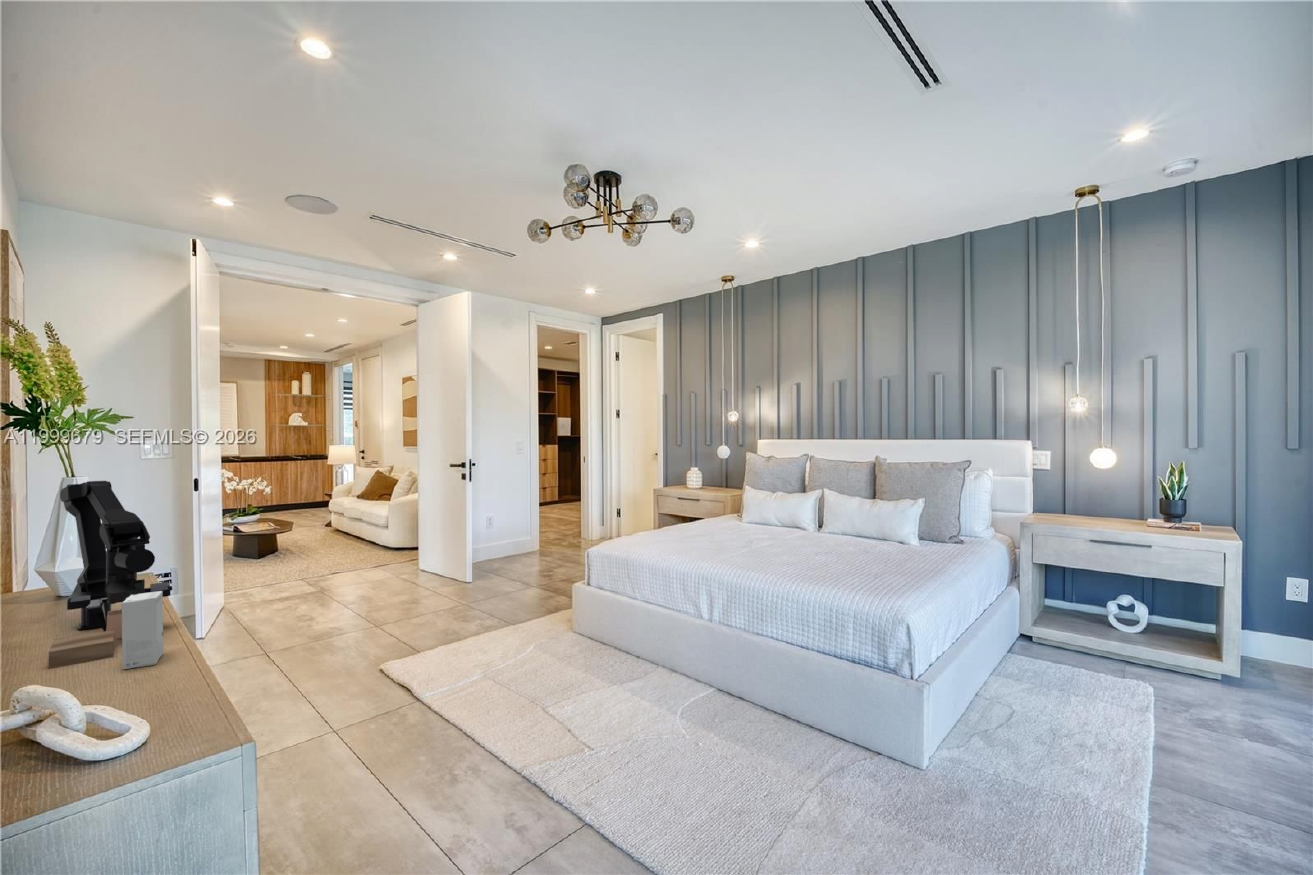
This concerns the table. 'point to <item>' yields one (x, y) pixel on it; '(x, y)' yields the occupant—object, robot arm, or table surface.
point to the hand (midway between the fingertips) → (120, 629)
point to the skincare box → (142, 629)
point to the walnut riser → (81, 648)
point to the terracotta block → (115, 622)
